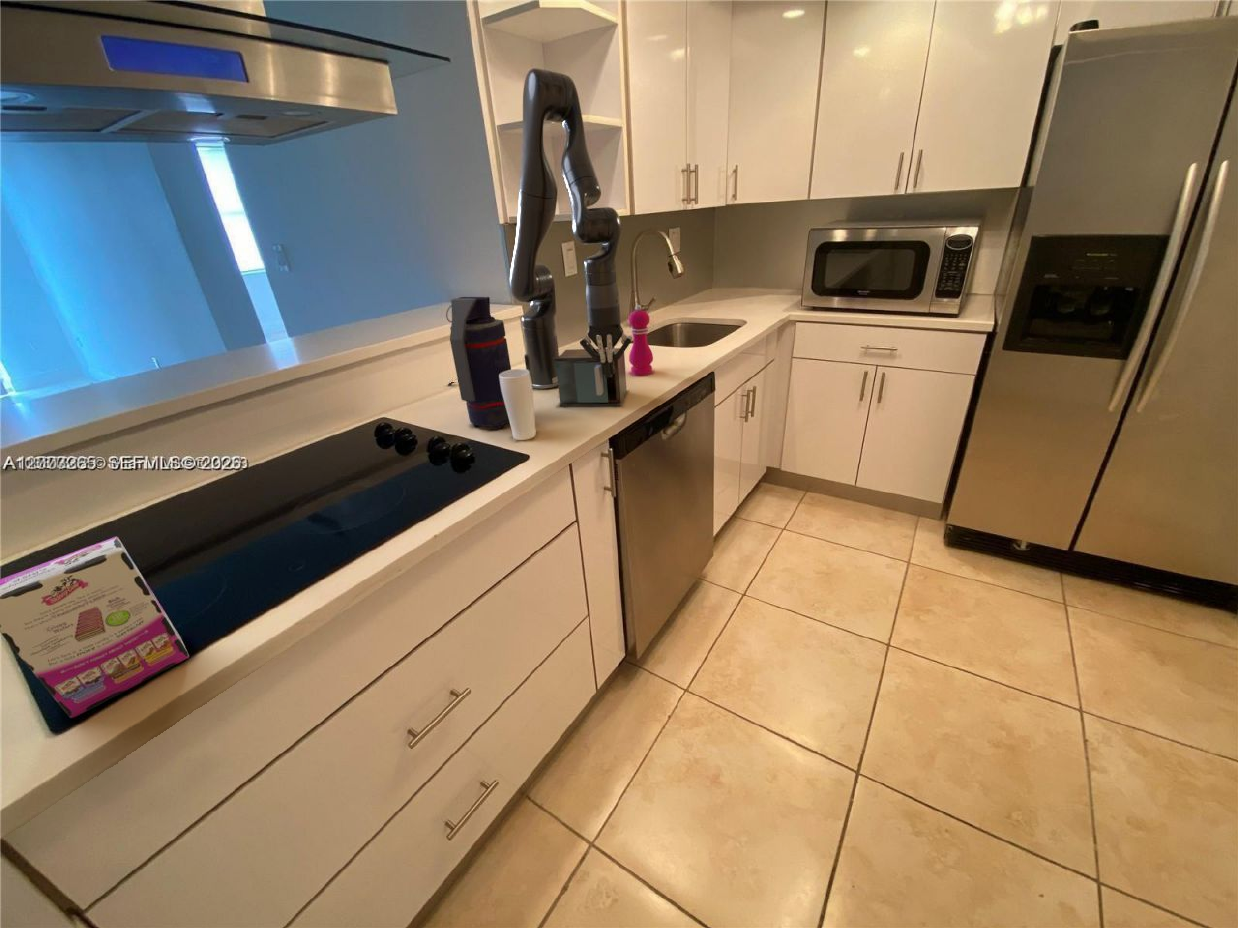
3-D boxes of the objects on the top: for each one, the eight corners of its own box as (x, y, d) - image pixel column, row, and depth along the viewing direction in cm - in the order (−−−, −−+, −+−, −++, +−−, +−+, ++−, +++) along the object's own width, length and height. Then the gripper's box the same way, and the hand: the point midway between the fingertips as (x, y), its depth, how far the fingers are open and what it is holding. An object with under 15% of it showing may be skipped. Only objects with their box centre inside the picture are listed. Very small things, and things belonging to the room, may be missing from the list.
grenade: (491, 411, 137) (468, 292, 123) (528, 415, 132) (509, 292, 118) (455, 431, 126) (426, 303, 112) (494, 436, 121) (468, 303, 107)
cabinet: (559, 406, 136) (553, 358, 130) (570, 391, 146) (565, 346, 141) (619, 406, 133) (616, 357, 128) (626, 391, 143) (623, 345, 138)
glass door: (575, 406, 132) (570, 366, 128) (578, 401, 135) (574, 362, 131) (605, 406, 131) (602, 366, 126) (608, 401, 134) (605, 362, 129)
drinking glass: (513, 431, 123) (502, 369, 116) (541, 429, 123) (532, 367, 116) (506, 443, 117) (495, 378, 110) (536, 441, 116) (526, 376, 110)
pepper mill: (654, 368, 161) (651, 302, 152) (653, 375, 154) (650, 306, 145) (630, 369, 162) (626, 303, 153) (628, 376, 155) (624, 308, 146)
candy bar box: (182, 639, 67) (119, 533, 60) (191, 658, 64) (126, 548, 57) (65, 697, 60) (-24, 584, 53) (69, 721, 57) (-25, 605, 49)
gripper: (633, 299, 123) (637, 371, 130) (578, 302, 125) (586, 372, 133) (628, 305, 116) (633, 380, 124) (571, 308, 118) (579, 381, 126)
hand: (608, 376), depth 128 cm, fingers closed
